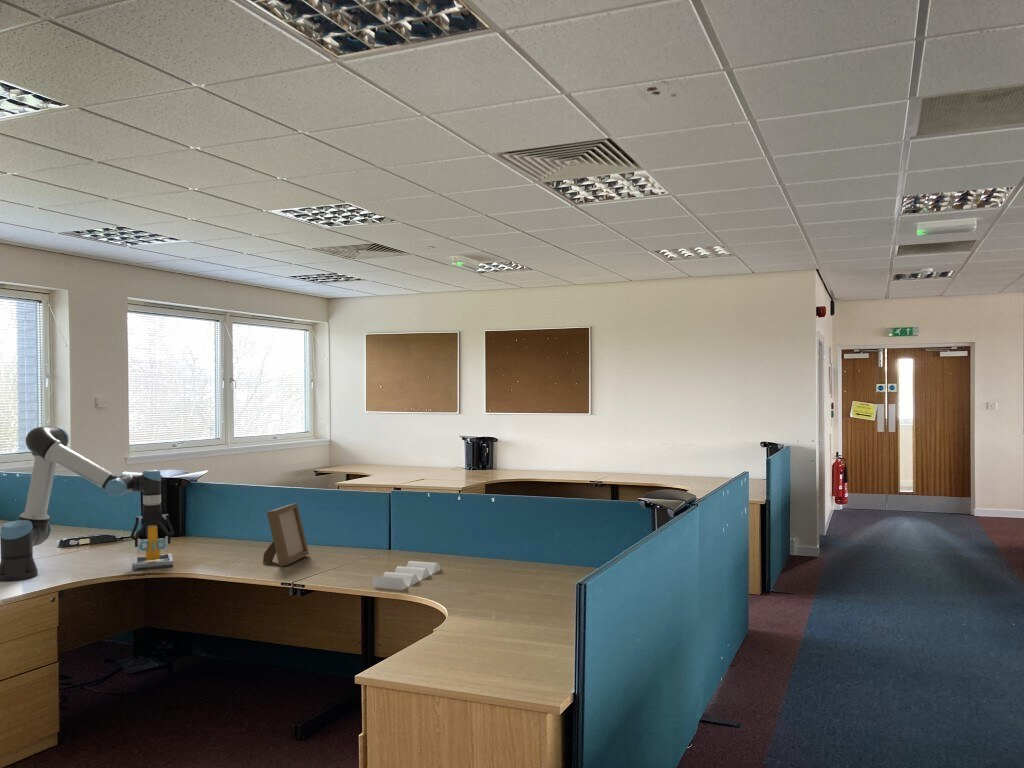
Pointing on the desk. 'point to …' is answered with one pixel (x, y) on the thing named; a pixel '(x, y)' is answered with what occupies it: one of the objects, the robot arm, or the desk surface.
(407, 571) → the white zigzag rack
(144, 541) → the orange block with rings
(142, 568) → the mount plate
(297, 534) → the photo frame
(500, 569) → the desk surface
